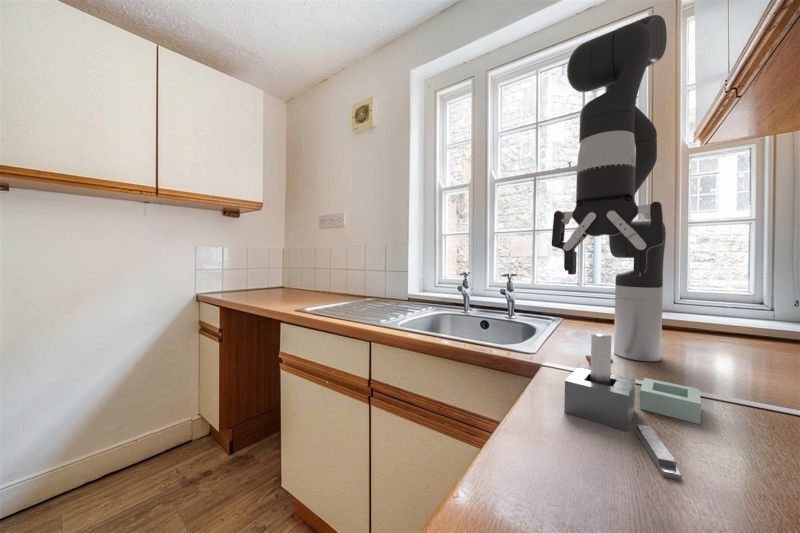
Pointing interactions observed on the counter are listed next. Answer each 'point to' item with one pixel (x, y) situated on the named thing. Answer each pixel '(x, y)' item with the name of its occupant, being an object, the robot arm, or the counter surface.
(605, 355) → the peg
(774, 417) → the counter surface
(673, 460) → the bar
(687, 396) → the box
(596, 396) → the socket
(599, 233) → the robot arm
